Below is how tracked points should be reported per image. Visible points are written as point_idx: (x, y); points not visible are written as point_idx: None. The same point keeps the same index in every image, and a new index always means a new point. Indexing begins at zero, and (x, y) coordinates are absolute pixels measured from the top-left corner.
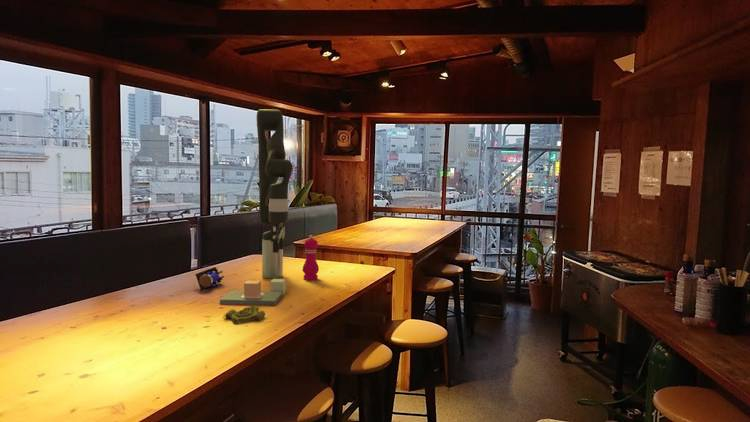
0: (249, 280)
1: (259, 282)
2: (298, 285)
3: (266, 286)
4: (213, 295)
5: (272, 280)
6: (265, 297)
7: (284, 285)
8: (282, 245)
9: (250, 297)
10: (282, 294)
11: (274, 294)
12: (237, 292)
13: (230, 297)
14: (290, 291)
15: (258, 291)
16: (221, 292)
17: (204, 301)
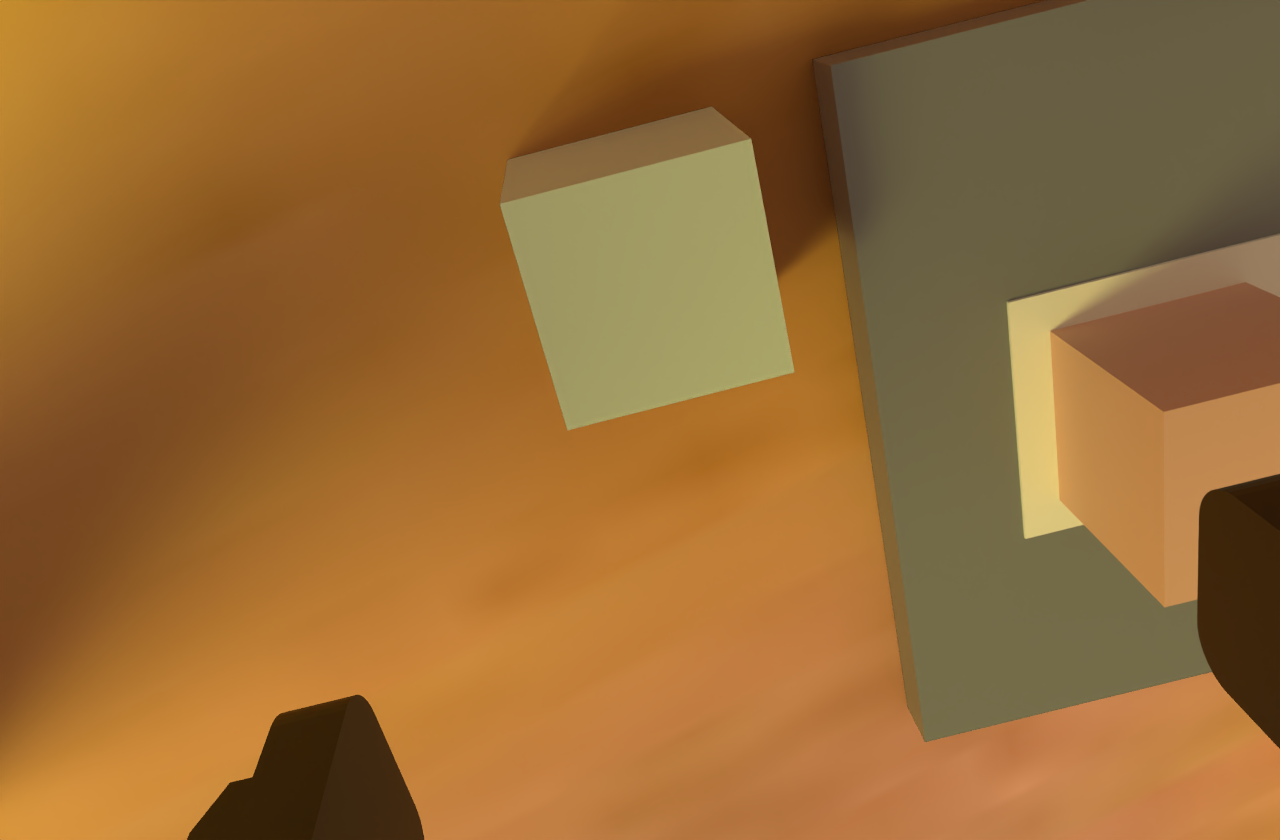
0: (1164, 583)
1: (1254, 384)
2: (13, 126)
3: (356, 559)
4: (995, 829)
5: (698, 383)
6: (1245, 163)
7: (610, 155)
8: (332, 833)
9: None
10: (858, 52)
11: (1044, 116)
12: (1021, 635)
13: None
14: (493, 68)
15: (1229, 319)
16: (850, 833)
17: (1246, 772)
